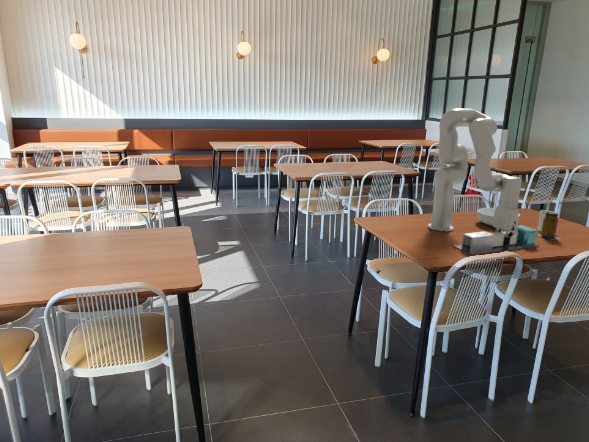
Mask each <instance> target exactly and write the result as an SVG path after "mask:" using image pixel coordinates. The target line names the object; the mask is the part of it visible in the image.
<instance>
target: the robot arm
mask: <svg viewBox="0 0 589 442" xmlns="http://www.w3.org/2000/svg"><path fill="white" fill-rule="evenodd" d="M438 125H439V126H438V127H439V139H438V140H439V143H438V161H439V162H440V163H441V164H442V165H449V166H444V167H440V168H439V169H437V170H436V171H435V173H434V178H433V180H434V195H433V202H432V203H433V207H432V212H431V213H432V215H431V223H428V224H427V227H428V229H430V230H432V231H436V230H437V231H438V232H443V231H445V232H447V233H448V232H452V231H454V226H452V220H453V219H452V217H453V208H454V202H455V201H454V200H455V190H454V186H456V185H460V184H462V183H464V182H465V180H466V179H467V174H468V160H469V155H468V154H469V153H468V150H467V147H466V146H464V145H463V144H460V143H458V140H459V134H458V131H457V128H459V127H461V128H462V127H468V131H469V134H470V138H471V140H472V141H471V142H472V145H473V149H474V152H475V158H474V159H475V160H474V176H475V178H476V181H477V185H478V186H479V188H480V189H481V190H482V191H484V192H493V191H499V190H500V195H499V199H498V201H497V202H498V205H496V207H495V208H496V210H495V213H494V217H493V222H492V226H491V227H493V230H494V233H497V232H503V231H504V232H505V231H506V237H504V242H503V245H509V244H510V238H511V237H512V236H513V235H514V234H517V233H518V230H517V226H518V222H519V220H518V213H519V209H518V205H519V199H520V193H521V187H522V178H521V177H519V176H513V175H511V176H510V175H507V174H504V173H499V172H498V173H492V170H491V165H490V162H491V159H492V157H493V155H494V154H495V152H496V150H497V148H496V146H495V145H496V144H495V142H494V141H495V140H494V138H493V136H494V135H495V134H496V133H497V130H498V125H497V122H496V121H495V120H494V119H493V118H491V117H490V116H488V115H486V114H484V113H482V112H480V111H478V110H476V109H474V108H451V109H450V110H447V111H446V112H445V113H443V115H441V118H440V120H439V124H438ZM437 231H436V232H437ZM512 231H513V232H512Z"/></svg>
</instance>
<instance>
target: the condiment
mask: <svg viewBox="0 0 589 442" xmlns="http://www.w3.org/2000/svg"><path fill="white" fill-rule="evenodd" d="M553 212H554V211H552V212H547V213H546V215H545V218H544V220H543V226H542V231H540V234H537V236H538V237H540V238H544V239H547V240H551V241H554V240H555V241H556V240H562V238H560V237H558V236H556V233H557V227H558V223H559V219H558V218H559V214H558V213H556V212H555V213H553Z"/></svg>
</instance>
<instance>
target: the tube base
mask: <svg viewBox="0 0 589 442" xmlns="http://www.w3.org/2000/svg"><path fill="white" fill-rule="evenodd" d="M517 230H518V233H519V235H518V241H517V244H510V245H503V246H495V247H493V241H494V235H493V234H490V233H491V232H487V231H486V230H485V231H477V232H467V233H463V235H462V243H461V244H457V245H452V247H453V248H454V247H455V248H454V249H456V248H457V249H456V250H459V249H460V250H459V251H461V250H462V251H461V252H463V251H464V253H465V252H466V253H465V254H467V253H468V255H470V254H471V255H470V256H472V255H475V256H479V255H478V254H482V255H488V253H490V254H495V253H496V252H497V253H501V251H504V252H508V251H517V250H524V249H525V250H526V249H532V248H537V247H539V248H540V245H539V244H538V243H537V244H536V240H537V236H538V229H535V228H532V227H529V226H525V225H523V224H519V225H518V224H517ZM471 238H472V241H471V247H470V239H471Z"/></svg>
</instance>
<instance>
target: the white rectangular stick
mask: <svg viewBox="0 0 589 442" xmlns="http://www.w3.org/2000/svg"><path fill="white" fill-rule="evenodd" d="M512 232H513V230H512ZM489 233H490V234H493V235H494V241H493V247H495V246H503V242H504V237H506V231H505V230H504V231H502V232H497V233H495V232H489ZM518 235H519V233H517V234H514V235H513V236H512V237H511V238H510V244H517V241H518ZM471 241H472V238H471V239H470V247H471ZM510 244H509V245H510Z"/></svg>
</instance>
